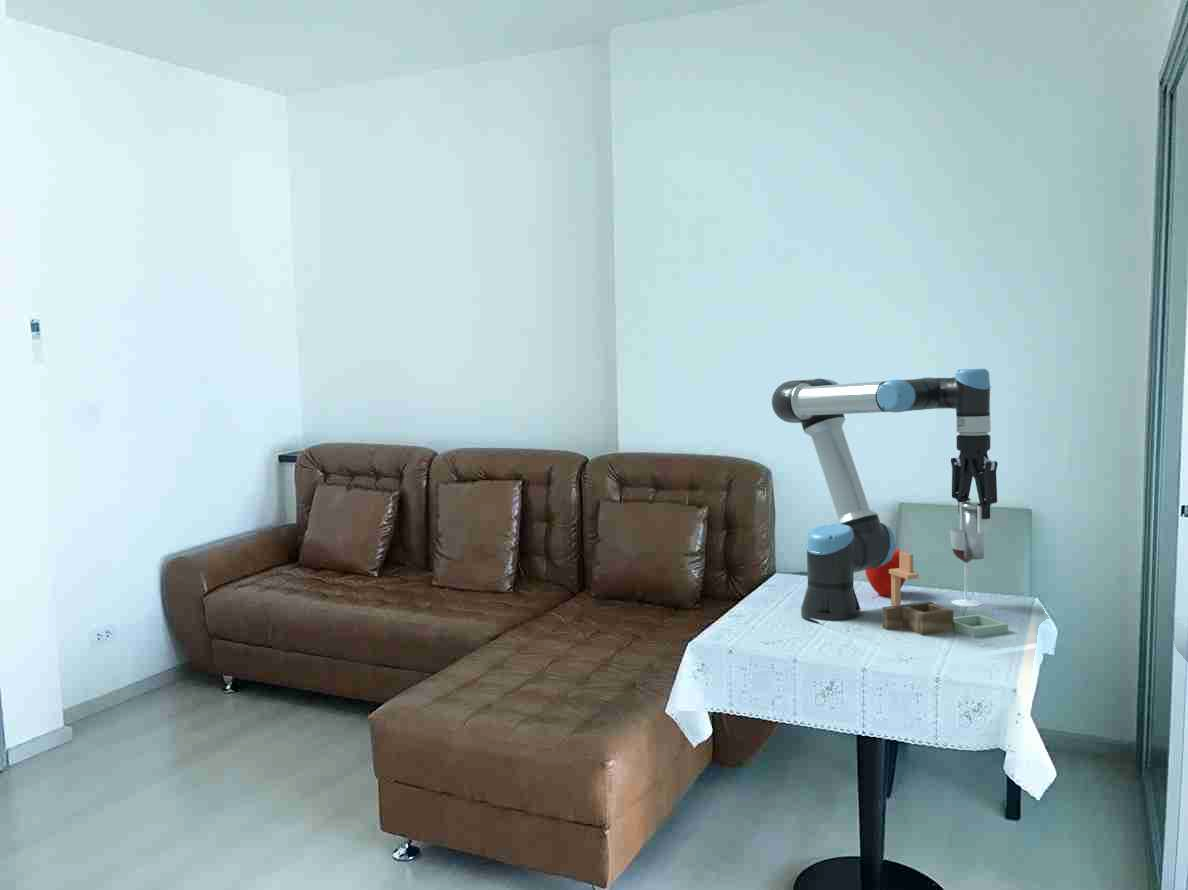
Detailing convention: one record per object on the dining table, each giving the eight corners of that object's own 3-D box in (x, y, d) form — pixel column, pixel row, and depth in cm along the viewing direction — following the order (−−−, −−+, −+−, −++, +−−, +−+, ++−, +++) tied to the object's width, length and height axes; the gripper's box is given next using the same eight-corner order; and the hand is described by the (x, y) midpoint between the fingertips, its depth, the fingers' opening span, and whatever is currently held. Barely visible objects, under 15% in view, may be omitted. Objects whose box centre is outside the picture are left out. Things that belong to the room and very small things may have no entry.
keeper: (888, 605, 239) (888, 551, 238) (899, 603, 240) (898, 550, 239) (908, 612, 232) (908, 557, 231) (918, 611, 233) (918, 555, 232)
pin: (956, 556, 235) (956, 503, 234) (975, 554, 237) (975, 501, 236) (972, 560, 230) (972, 506, 229) (992, 558, 232) (991, 504, 231)
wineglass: (945, 603, 264) (945, 530, 262) (958, 597, 270) (958, 526, 268) (974, 608, 258) (974, 534, 256) (987, 601, 265) (987, 529, 263)
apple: (889, 587, 283) (889, 542, 282) (917, 596, 273) (917, 549, 272) (856, 592, 279) (856, 546, 278) (884, 601, 268) (884, 553, 267)
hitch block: (882, 632, 239) (882, 607, 239) (928, 625, 244) (928, 601, 243) (906, 641, 231) (906, 616, 230) (953, 634, 235) (953, 609, 235)
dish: (945, 630, 239) (945, 618, 239) (978, 625, 242) (978, 614, 242) (973, 641, 229) (973, 629, 229) (1007, 636, 233) (1007, 624, 232)
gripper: (934, 432, 239) (935, 526, 241) (987, 436, 221) (988, 537, 223) (960, 431, 241) (961, 523, 243) (1014, 434, 224) (1015, 534, 225)
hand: (974, 530), depth 233 cm, fingers closed on pin, 6 cm apart
